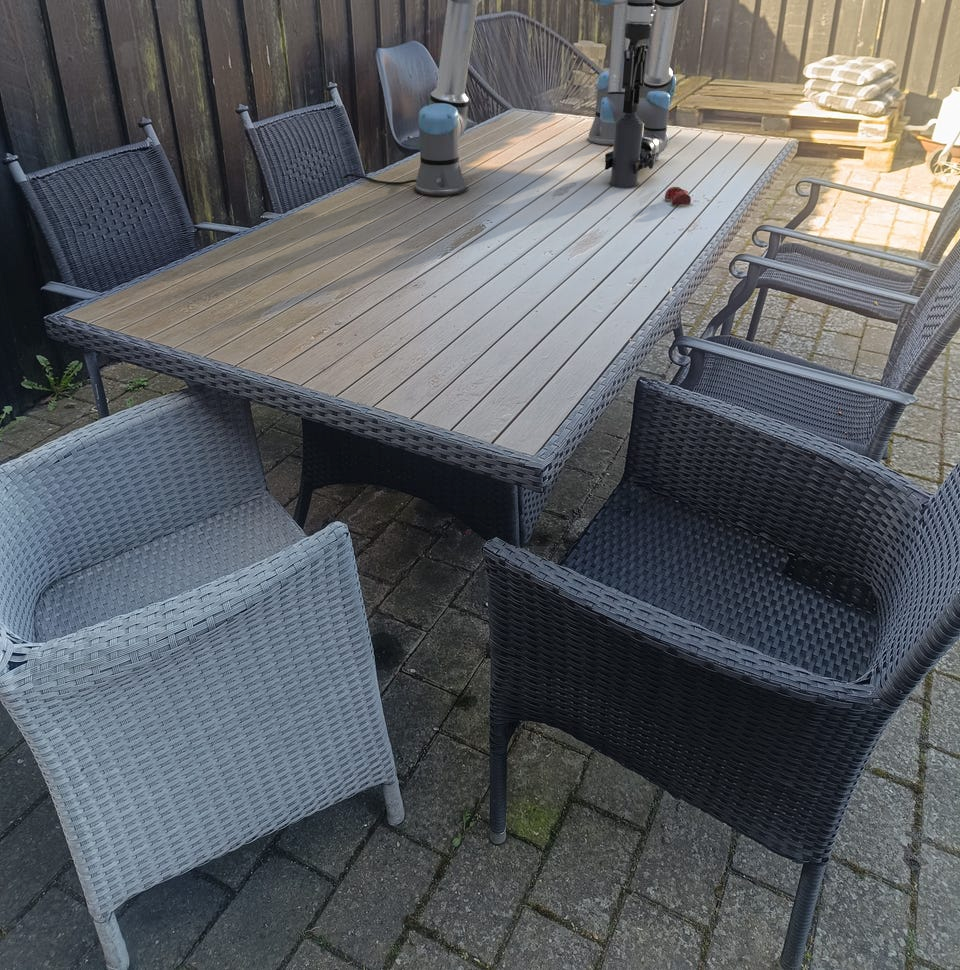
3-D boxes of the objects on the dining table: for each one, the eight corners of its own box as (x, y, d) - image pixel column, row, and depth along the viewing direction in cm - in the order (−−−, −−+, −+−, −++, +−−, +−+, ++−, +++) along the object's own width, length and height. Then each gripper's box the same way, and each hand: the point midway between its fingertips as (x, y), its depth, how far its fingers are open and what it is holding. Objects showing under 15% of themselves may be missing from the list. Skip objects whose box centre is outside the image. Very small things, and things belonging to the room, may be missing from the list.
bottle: (632, 189, 259) (641, 109, 246) (607, 185, 262) (613, 107, 249) (639, 181, 265) (648, 103, 252) (614, 178, 268) (621, 101, 255)
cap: (639, 110, 252) (640, 103, 251) (635, 113, 249) (635, 105, 248) (626, 108, 253) (626, 101, 252) (621, 111, 250) (622, 104, 249)
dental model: (681, 182, 249) (693, 190, 243) (680, 196, 252) (692, 205, 246) (664, 184, 248) (675, 192, 242) (662, 199, 251) (674, 207, 245)
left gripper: (640, 27, 230) (631, 118, 244) (662, 19, 242) (652, 107, 256) (615, 25, 233) (607, 115, 247) (638, 18, 245) (629, 104, 259)
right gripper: (674, 166, 271) (652, 184, 255) (612, 158, 279) (587, 175, 263) (677, 141, 267) (655, 158, 250) (614, 134, 275) (588, 150, 258)
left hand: (630, 111), depth 251 cm, fingers closed on cap, 4 cm apart
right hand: (620, 167), depth 257 cm, fingers closed on bottle, 8 cm apart
